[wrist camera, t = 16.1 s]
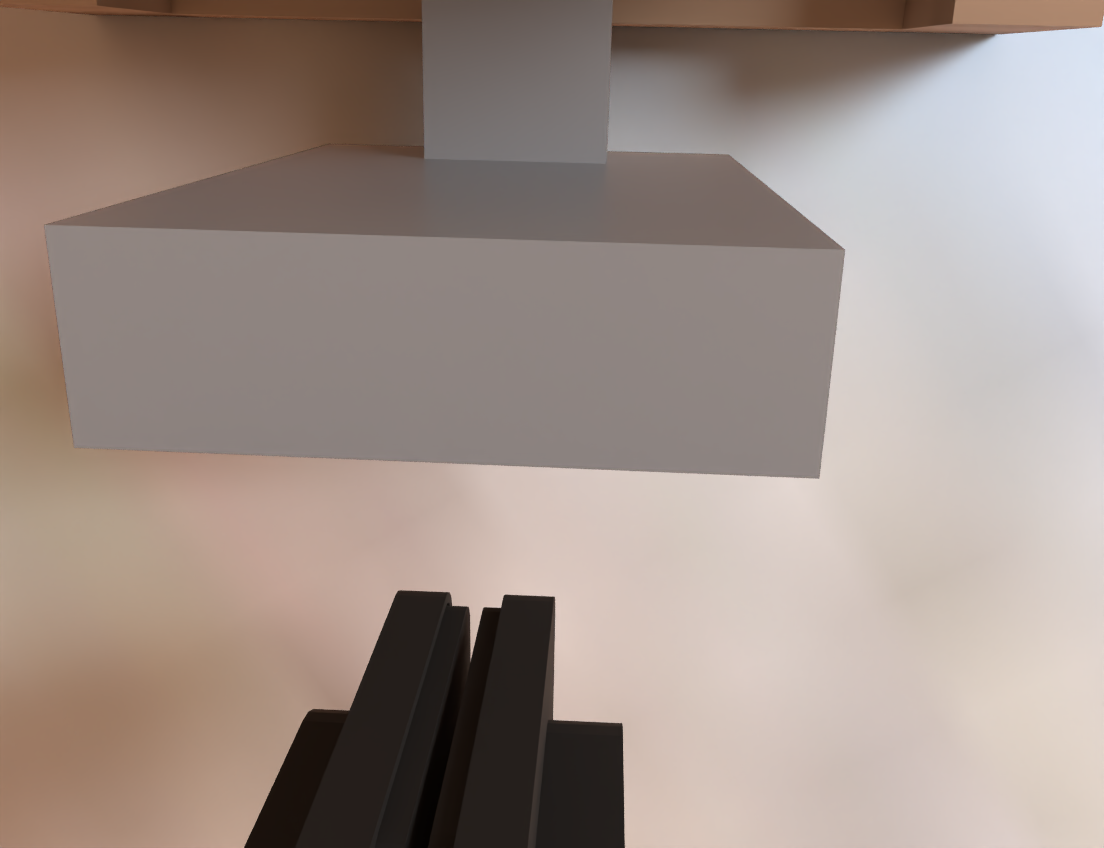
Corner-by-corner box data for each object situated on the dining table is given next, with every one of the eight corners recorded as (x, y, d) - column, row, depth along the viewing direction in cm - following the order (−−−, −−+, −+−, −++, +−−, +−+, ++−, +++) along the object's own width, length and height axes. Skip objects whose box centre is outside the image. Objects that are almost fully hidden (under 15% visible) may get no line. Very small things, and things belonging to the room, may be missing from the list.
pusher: (853, 279, 13) (1085, 488, 7) (207, 258, 14) (-169, 437, 7) (918, -266, 11) (1327, -713, 5) (161, -273, 12) (-411, -693, 5)
